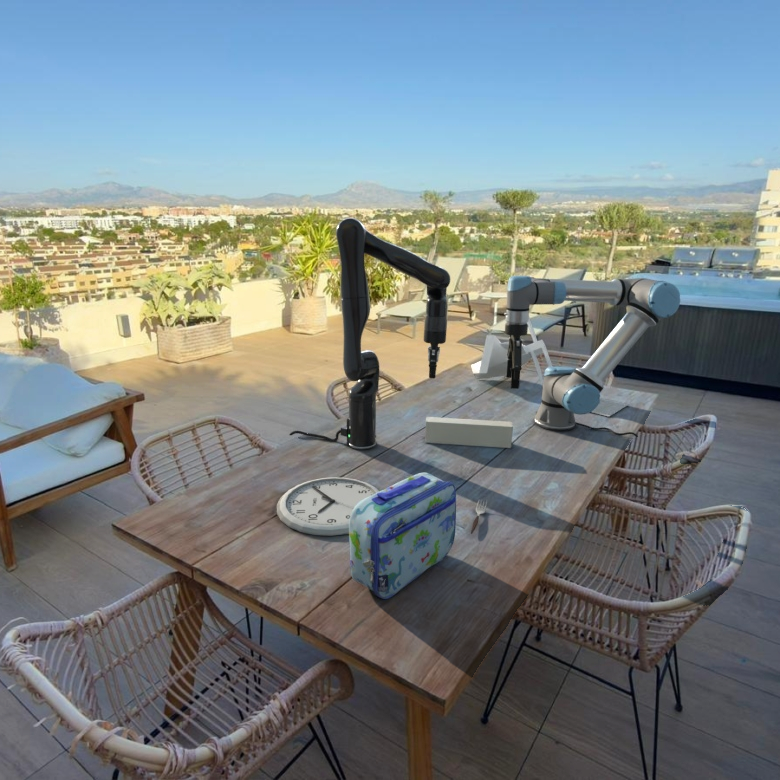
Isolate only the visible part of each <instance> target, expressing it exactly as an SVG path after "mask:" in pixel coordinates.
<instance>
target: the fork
mask: <svg viewBox="0 0 780 780" xmlns="http://www.w3.org/2000/svg"><path fill="white" fill-rule="evenodd" d="M482 502H483V503H482ZM487 503H488V500H486V501H485V499H484V500H483V499H481V500H480V498H478V501H477V503H476V504H477V505H476V507H475V513H477V515H476V517H475V518H474V520H473V521H472V527H471V530H470V535H473V532H474V531H475V529H476V528H477V526H478V523H479V519H480V516H481V515H483V514H485V513H486V511H487V505H488V504H487Z"/></svg>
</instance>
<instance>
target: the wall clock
mask: <svg viewBox="0 0 780 780" xmlns="http://www.w3.org/2000/svg"><path fill="white" fill-rule="evenodd" d="M380 491H381V490H380V489H379V488H377V487H376V486H374V485H372V484H371V483H369V482H365V481H362V480H359V479H355V478H349V477H338V476H337V477H335V476H333V477H332V476H331V477H322V478H317V479H312V480H307V481H305V482H302V483H299V484H297V485H295V486H293V487H292V488H290V489H288V490H287V491H286V492H285V493H284V494H283V495H281V496H280V498H279V499H278V502H277V503H276V515H277V517H278V518H279V520H280V521H281V522H282V523H283V524H285V525H286V526H287V527H288V528H290V529H293V530H295V531H297V532H299V533H303V534H308V535H312V536H327V537H328V536H329V537H331V536H332V537H333V536H342V535H349V520H350V515H351V513H352V511H353V509H354V507H355V506H356V505H357V504H358V503H359V502H360V501H362V500H363V499H365V498H367V497H370V496H372V495H374V494H376V493H378V492H380Z"/></svg>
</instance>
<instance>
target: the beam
mask: <svg viewBox="0 0 780 780" xmlns="http://www.w3.org/2000/svg"><path fill="white" fill-rule="evenodd" d="M513 431H514V425H513V422H512V421H505V420H504V421H503V420H487V419H474V418H473V419H470V418H454V417H436V416H426V419H425V435H424V438H425V439H424V443H426V444H440V445H441V444H442V445H455V446H471V447H472V446H473V447H487V448H503V449H511V448H512V441H513V434H514V433H513Z"/></svg>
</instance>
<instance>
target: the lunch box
mask: <svg viewBox="0 0 780 780" xmlns="http://www.w3.org/2000/svg"><path fill="white" fill-rule="evenodd" d="M456 524H457V489H456V486H455V484H454V483H453V482H452V481H445V480H442V479H440V478H439V477H436V476H434V475H433V474H431V473H429V472H426V471H425V472H424V471H423V472H419V473H416V474H413V475H411V476H409V477H407V478H405V479H403V480H401V481H400V480H399V481H398V482H396V483H395V484H392V485H390V486H388V487H385V488H383V489H382V490H380V492H378V493H376V494H374V495H372V496H370V497H367V498H365V499H363V500H362V501H360V502H359V503H358V504H357V505H356V506H355V507H354V509H353V511H352V513H351V515H350V520H349V534H348V542H349V543H348V544H349V568H350V575H351V577H352V579H353V581H355V582H356V583H359V584H361V585H362V586H364V587H366V588H367V589H369V590H370V591H372V592H373V593H374V595H375V596H377V597H378V598H380V599H384V600H387V599H390V598H392V597H394V596H395V595H396V594H397V593H398V592H400V591H401V590H403V589H404V588H405V587H406V586H407V585H410V584H411V583H412V582H413V581H414V580H416V579H417V578H418V577H419V576H421V575H422V574H423V573H425V571H427V570H428V569H429V568H431V567H433V566H435V565H436V564H438V563H439V562H441V561H442V560H443V559H445V558H446V557H447V556H448V554H449V552H450V551H451V550H452V547H453V545H454V542H455V539H456V538H455V536H456V526H457V525H456Z"/></svg>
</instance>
